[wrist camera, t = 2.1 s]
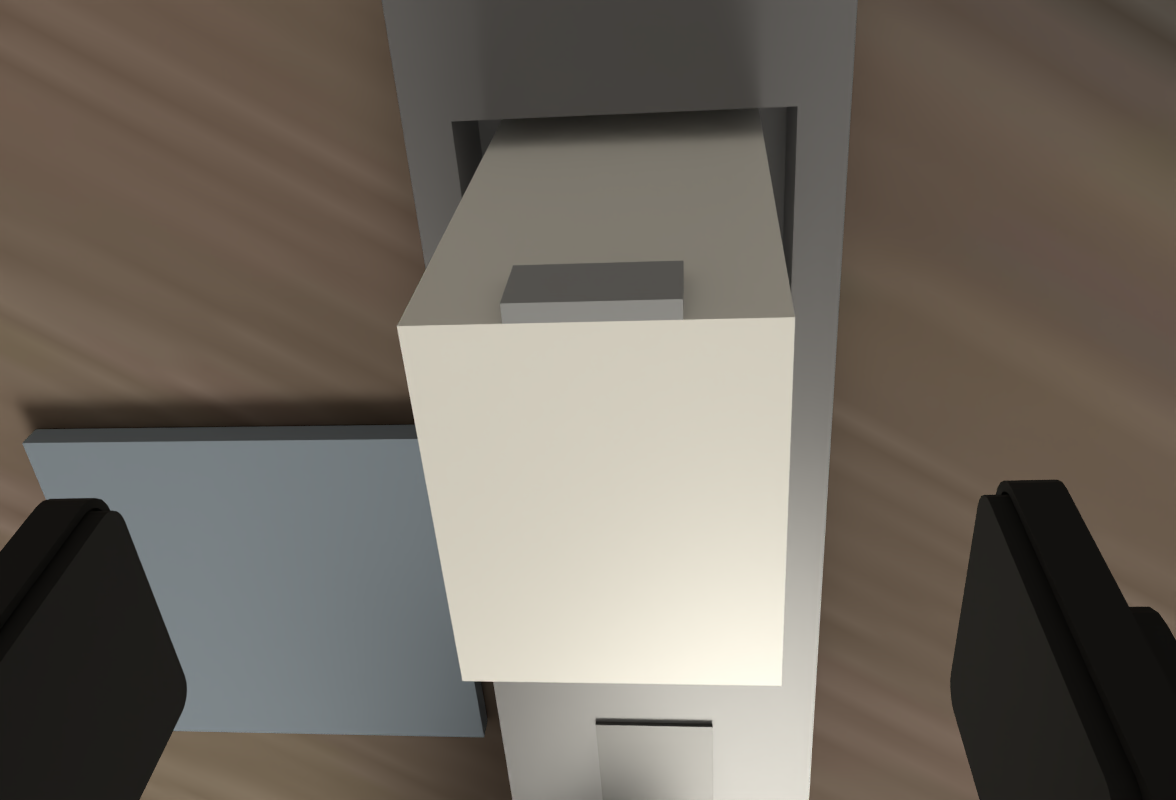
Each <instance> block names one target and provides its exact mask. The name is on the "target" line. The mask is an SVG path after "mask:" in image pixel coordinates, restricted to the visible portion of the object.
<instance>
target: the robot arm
mask: <svg viewBox="0 0 1176 800" xmlns="http://www.w3.org/2000/svg"><path fill="white" fill-rule="evenodd" d="M950 688H951V699H952V706H953V710H954V714H955V717H956V721H957V724H958V727H959V731H960V734H961V738H962V741H963V744H964V748H965V751H966V755H967V758H968V762H969V765H970V768H971V772H972V775H973V779H974V782H975V785H976V789H977V792H978V796H979V799H980V800H1176V640H1175V638H1174V636H1173V635H1172V633H1171V631H1170V629H1169V627H1168V626H1167V624H1166V623H1165V621H1164V620H1163V618H1162V617H1161V616H1160V614H1159V613H1158V612H1157V611H1155V610H1153V609H1152V608H1150V607H1129V606H1128V604H1127V602H1126V600H1125V598H1124V597H1123V595H1122V593H1121V591H1120V589H1119V587H1118V585H1117V583H1116V581H1115V579H1114V578H1113V576H1112V574H1111V572H1110V570H1109V568H1108V566H1107V564H1106V562H1105V560H1104V559H1103V557H1102V555H1101V553H1100V551H1099V549H1098V547H1097V545H1096V543H1095V541H1094V540H1093V538H1092V536H1091V534H1090V532H1089V530H1088V528H1087V526H1086V524H1085V522H1084V521H1083V519H1082V517H1081V515H1080V513H1079V511H1078V509H1077V507H1076V505H1075V503H1074V502H1073V500H1072V498H1071V496H1070V494H1069V492H1068V490H1067V488H1066V487H1065V485H1064V484H1063V483H1062V482H1061V481H1059V480H1020V481H1003V482H1001V483H1000V485H999V486H998V488H997V492H996V495H983V496H981V498H980V500H979V503H978V508H977V514H976V520H975V527H974V533H973V539H972V545H971V552H970V558H969V564H968V570H967V577H966V583H965V589H964V595H963V602H962V608H961V614H960V620H959V627H958V633H957V639H956V646H955V652H954V658H953V664H952V671H951V679H950ZM186 697H187V682H186V678H185V675H184V672H183V669H182V667H181V664H180V662H179V659H178V657H177V654H176V651H175V649H174V646H173V644H172V641H171V638H170V636H169V633H168V631H167V628H166V626H165V623H164V620H163V618H162V615H161V613H160V610H159V608H158V605H157V602H156V600H155V597H154V595H153V592H152V590H151V587H150V584H149V582H148V579H147V577H146V574H145V571H144V569H143V566H142V564H141V561H140V559H139V556H138V553H137V551H136V548H135V546H134V543H133V541H132V538H131V535H130V533H129V530H128V528H127V525H126V523H125V520H124V518H123V517H122V515H121V514H120V513H119V512H117V511H111V510H110V509H109V507H108V505H107V504H106V503H105V502H104V501H103V500H102V499H98V498H66V499H48V500H45V501H42V502H41V503H40V504H39V505H38V506H37V507H36V508H35V509H34V511H33V512H32V513H31V514H30V515H29V517H28V518H27V519H26V520H25V522H24V523H23V524H22V525H21V527H20V528H19V529H18V530H17V532H16V533H15V534H14V535H13V537H12V538H11V539H10V540H9V542H8V543H7V544H6V545H5V547H4V548H3V549H2V550H1V551H0V800H139V799H140V797H141V795H142V793H143V791H144V789H145V787H146V785H147V783H148V781H149V779H150V777H151V775H152V773H153V771H154V769H155V767H156V765H157V763H158V761H159V759H160V757H161V755H162V753H163V750H164V748H165V746H166V744H167V742H168V740H169V738H170V736H171V734H172V732H173V730H174V728H175V726H176V724H177V722H178V720H179V718H180V716H181V714H182V711H183V709H184V706H185V702H186Z"/></svg>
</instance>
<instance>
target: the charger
mask: <svg viewBox="0 0 1176 800" xmlns="http://www.w3.org/2000/svg"><path fill="white" fill-rule="evenodd" d="M397 329H398V335H399V340H400V345H401V351H402V356H403V362H404V367H405V373H406V378H407V383H408V389H409V394H410V400H411V405H412V410H413V416H414V421H415V427H416V432H417V437H418V443H419V448H420V454H421V459H422V465H423V470H424V475H425V481H426V486H427V492H428V497H429V502H430V508H431V513H432V519H433V524H434V529H435V535H436V540H437V546H438V551H439V557H440V562H441V567H442V573H443V578H444V584H445V589H446V594H447V600H448V605H449V611H450V616H451V621H452V627H453V632H454V638H455V643H456V649H457V654H458V659H459V665H460V670H461V676H462V681H490V682H557V683H624V684H690V685H757V686H782V659H783V632H784V605H785V578H786V551H787V524H788V497H789V470H790V443H791V417H792V390H793V363H794V336H795V313H794V308H793V302H792V296H791V291H790V285H789V279H788V273H787V268H786V262H785V256H784V251H783V245H782V239H781V233H780V228H779V222H778V216H777V211H776V205H775V199H774V194H773V188H772V182H771V176H770V171H769V165H768V159H767V154H766V148H765V142H764V137H763V131H762V125H761V119H760V114H759V108H748V109H725V110H702V111H680V112H657V113H634V114H611V115H588V116H565V117H543V118H520V119H502V121H501V123H500V125H499V127H498V128H497V130H496V132H495V134H494V136H493V138H492V140H491V142H490V144H489V146H488V148H487V150H486V152H485V154H484V156H483V158H482V160H481V162H480V164H479V166H478V168H477V170H476V172H475V174H474V176H473V178H472V180H471V182H470V184H469V185H468V187H467V189H466V191H465V193H464V195H463V197H462V199H461V201H460V203H459V205H458V207H457V209H456V211H455V213H454V215H453V217H452V219H451V221H450V223H449V225H448V227H447V229H446V231H445V233H444V235H443V237H442V239H441V241H440V242H439V244H438V246H437V248H436V250H435V252H434V254H433V256H432V258H431V260H430V262H429V264H428V266H427V268H426V270H425V272H424V274H423V276H422V278H421V280H420V282H419V284H418V286H417V288H416V290H415V292H414V294H413V296H412V298H411V300H410V301H409V303H408V305H407V307H406V309H405V311H404V313H403V315H402V317H401V319H400V321H399V323H398V325H397Z"/></svg>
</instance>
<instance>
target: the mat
mask: <svg viewBox="0 0 1176 800" xmlns="http://www.w3.org/2000/svg"><path fill="white" fill-rule="evenodd" d="M23 446H24V448H25V451H26V453H27V455H28V458H29V460H30V462H31V465H32V467H33V470H34V472H35V474H36V477H37V479H38V481H39V484H40V486H41V489H42V491H43V493H44V496H45V498H46V500H48V499H66V498H98V499H102V500H103V501H104V502H105V503H106V504H107V505H108V507H109V509H110V510H111V511H117V512H119V513H120V514H121V515H122V517H123V518H124V520H125V523H126V525H127V528H128V530H129V533H130V535H131V538H132V541H133V543H134V546H135V548H136V551H137V553H138V556H139V559H140V561H141V564H142V566H143V569H144V571H145V574H146V577H147V579H148V582H149V584H150V587H151V590H152V592H153V595H154V597H155V600H156V602H157V605H158V608H159V610H160V613H161V615H162V618H163V620H164V623H165V626H166V628H167V631H168V633H169V636H170V638H171V641H172V644H173V646H174V649H175V651H176V654H177V657H178V659H179V662H180V664H181V667H182V669H183V672H184V675H185V678H186V682H187V697H186V702H185V706H184V709H183V711H182V714H181V716H180V718H179V720H178V722H177V724H176V726H175V728H174V730H173V731H203V732H250V733H298V734H346V735H394V736H442V737H484V735H485V731H486V726H487V721H488V720H487V714H486V708H485V702H484V697H483V691H482V685H481V681H462V676H461V670H460V665H459V659H458V654H457V649H456V643H455V638H454V632H453V627H452V621H451V616H450V611H449V605H448V600H447V594H446V589H445V584H444V578H443V573H442V567H441V562H440V557H439V551H438V546H437V540H436V535H435V529H434V524H433V519H432V513H431V508H430V502H429V497H428V492H427V486H426V481H425V475H424V470H423V465H422V459H421V454H420V448H419V443H418V437H417V432H416V427H415V425H355V426H271V427H187V428H104V429H35V430H34V432H33V433H32V434H31V435H30V436H29V437H28V438H27V439H26V440H25V441H24V442H23Z"/></svg>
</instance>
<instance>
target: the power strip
mask: <svg viewBox="0 0 1176 800" xmlns="http://www.w3.org/2000/svg"><path fill="white" fill-rule="evenodd" d="M857 2H858V0H382V5H383V11H384V17H385V23H386V29H387V36H388V42H389V48H390V54H391V60H392V66H393V72H394V78H395V84H396V91H397V97H398V103H399V109H400V115H401V121H402V127H403V133H404V139H405V146H406V152H407V158H408V164H409V170H410V176H411V182H412V188H413V195H414V201H415V207H416V213H417V219H418V225H419V231H420V237H421V243H422V250H423V256H424V262H425V268H427V266H428V264H429V262H430V260H431V258H432V256H433V254H434V252H435V250H436V248H437V246H438V244H439V242H440V241H441V239H442V237H443V235H444V233H445V231H446V229H447V227H448V225H449V223H450V221H451V219H452V217H453V215H454V213H455V211H456V209H457V207H458V205H459V203H460V201H461V199H462V197H463V195H464V193H465V191H466V189H467V187H468V185H469V184H470V182H471V180H472V178H473V176H474V174H475V172H476V170H477V168H478V166H479V164H480V162H481V160H482V158H483V156H484V154H485V152H486V150H487V148H488V146H489V144H490V142H491V140H492V138H493V136H494V134H495V132H496V130H497V128H498V127H499V125H500V123H501V121H502V119H520V118H543V117H565V116H588V115H611V114H634V113H657V112H680V111H702V110H725V109H748V108H759V114H760V119H761V125H762V131H763V137H764V142H765V148H766V154H767V159H768V165H769V171H770V176H771V182H772V188H773V194H774V199H775V205H776V211H777V216H778V222H779V228H780V233H781V239H782V245H783V251H784V256H785V262H786V268H787V273H788V279H789V285H790V291H791V296H792V302H793V308H794V313H795V336H794V363H793V390H792V417H791V443H790V470H789V497H788V524H787V551H786V578H785V605H784V632H783V659H782V686H757V685H690V684H624V683H557V682H493V684H494V690H495V696H496V702H497V708H498V714H499V720H500V726H501V733H502V739H503V745H504V751H505V757H506V763H507V769H508V775H509V782H510V788H511V794H512V800H809V789H810V772H811V756H812V740H813V723H814V707H815V690H816V674H817V658H818V641H819V625H820V609H821V592H822V576H823V559H824V543H825V527H826V510H827V494H828V477H829V461H830V445H831V428H832V412H833V395H834V379H835V363H836V346H837V330H838V314H839V297H840V281H841V264H842V248H843V232H844V215H845V199H846V182H847V166H848V150H849V133H850V117H851V101H852V84H853V68H854V51H855V35H856V19H857Z"/></svg>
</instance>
